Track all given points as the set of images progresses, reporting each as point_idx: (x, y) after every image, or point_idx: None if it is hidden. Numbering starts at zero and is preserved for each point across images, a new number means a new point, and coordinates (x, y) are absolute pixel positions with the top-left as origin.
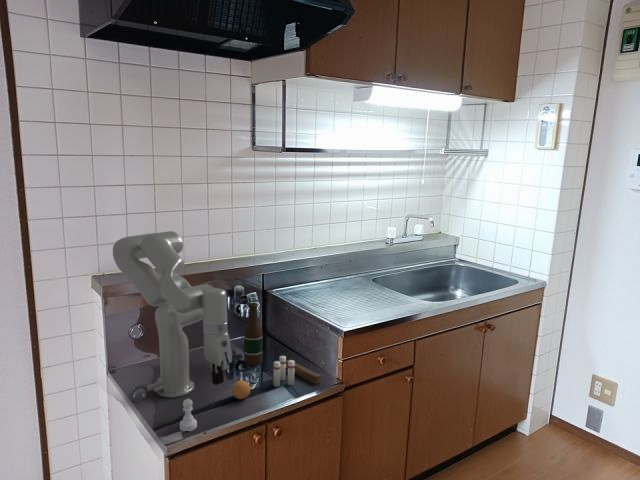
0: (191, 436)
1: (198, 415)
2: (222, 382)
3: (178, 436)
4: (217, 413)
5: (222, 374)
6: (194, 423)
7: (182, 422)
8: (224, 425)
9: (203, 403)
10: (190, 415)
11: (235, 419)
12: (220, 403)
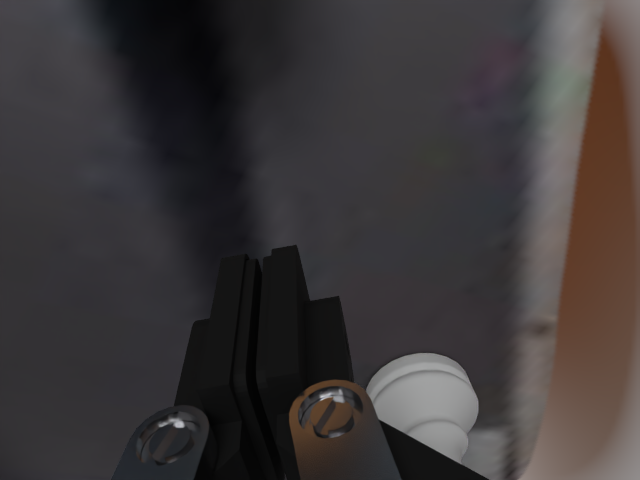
0: (520, 395)
1: None
2: (299, 256)
3: (473, 444)
4: (352, 194)
5: (300, 333)
6: (469, 396)
7: None
8: (548, 202)
9: (132, 242)
10: (458, 454)
11: (529, 97)
12: (192, 117)
